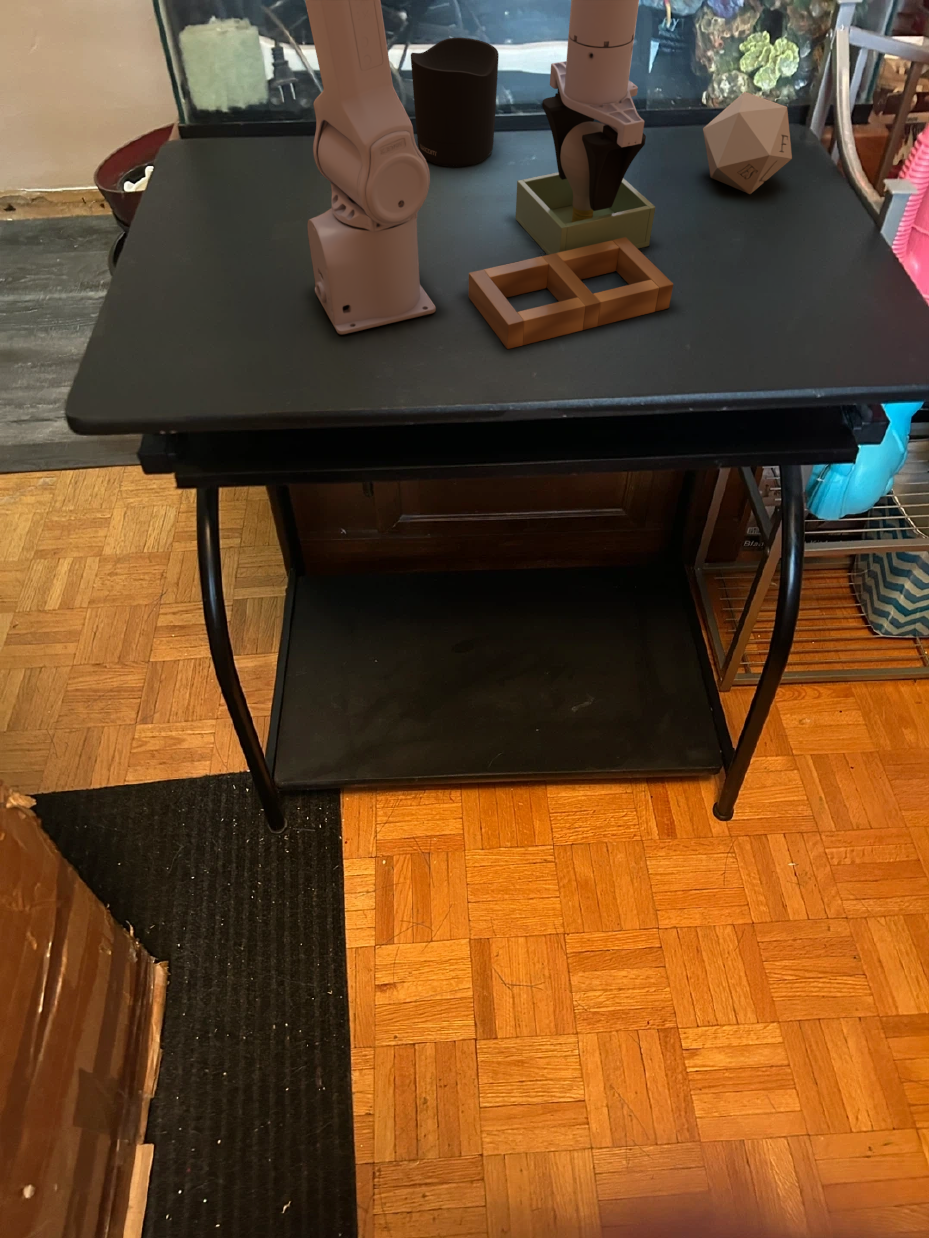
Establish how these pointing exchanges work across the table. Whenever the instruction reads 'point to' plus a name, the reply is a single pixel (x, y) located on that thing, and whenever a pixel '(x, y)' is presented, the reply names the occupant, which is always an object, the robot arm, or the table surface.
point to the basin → (551, 224)
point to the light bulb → (578, 168)
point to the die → (748, 142)
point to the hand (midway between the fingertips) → (585, 192)
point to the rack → (568, 291)
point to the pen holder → (455, 101)
